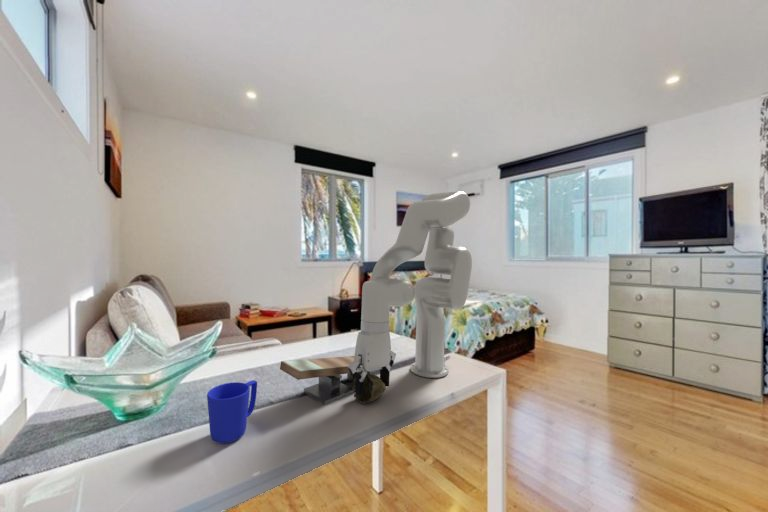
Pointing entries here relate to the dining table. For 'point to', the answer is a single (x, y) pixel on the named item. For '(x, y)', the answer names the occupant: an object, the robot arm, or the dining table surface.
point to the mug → (230, 410)
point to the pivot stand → (330, 389)
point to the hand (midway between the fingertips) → (372, 389)
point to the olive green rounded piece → (371, 388)
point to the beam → (317, 367)
